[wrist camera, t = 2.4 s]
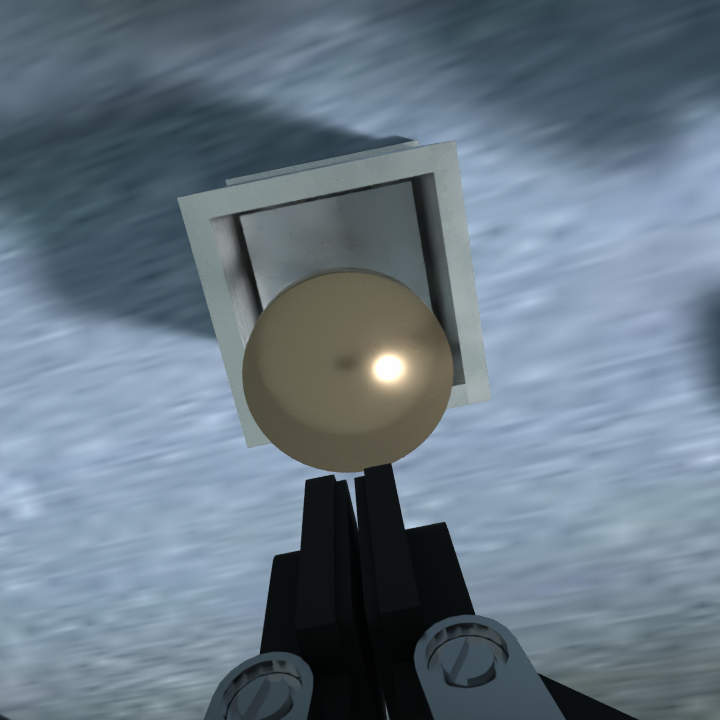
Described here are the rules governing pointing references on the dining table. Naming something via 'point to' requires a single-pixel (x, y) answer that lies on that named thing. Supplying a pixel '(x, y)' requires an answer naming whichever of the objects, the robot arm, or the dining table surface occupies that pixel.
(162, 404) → the dining table surface
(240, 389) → the white open square box
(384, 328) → the plunger
